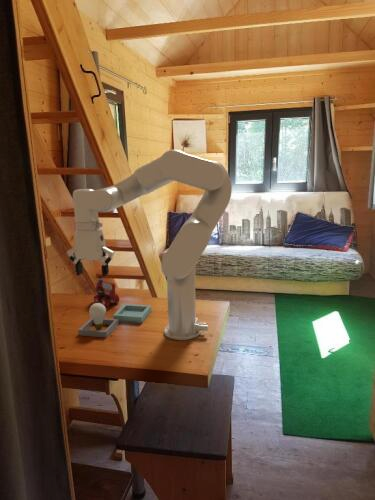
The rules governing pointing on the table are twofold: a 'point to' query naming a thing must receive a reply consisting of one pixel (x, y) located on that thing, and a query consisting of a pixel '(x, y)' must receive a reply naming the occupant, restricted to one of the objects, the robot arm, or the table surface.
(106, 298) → the toy fire truck
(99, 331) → the holder
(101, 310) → the light bulb
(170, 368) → the table surface
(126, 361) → the table surface
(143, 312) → the tray
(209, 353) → the table surface
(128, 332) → the table surface
